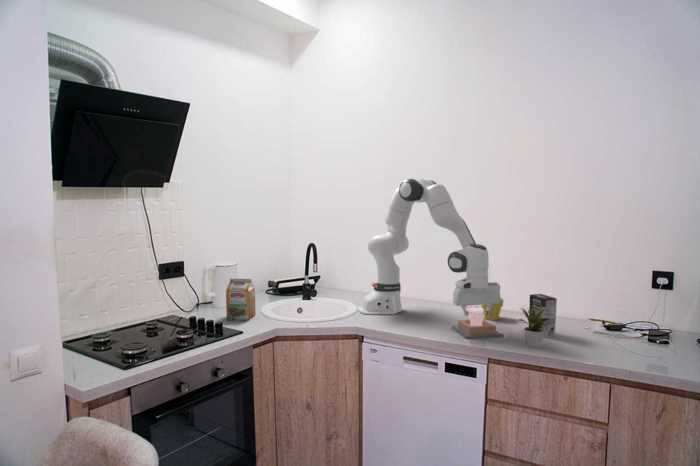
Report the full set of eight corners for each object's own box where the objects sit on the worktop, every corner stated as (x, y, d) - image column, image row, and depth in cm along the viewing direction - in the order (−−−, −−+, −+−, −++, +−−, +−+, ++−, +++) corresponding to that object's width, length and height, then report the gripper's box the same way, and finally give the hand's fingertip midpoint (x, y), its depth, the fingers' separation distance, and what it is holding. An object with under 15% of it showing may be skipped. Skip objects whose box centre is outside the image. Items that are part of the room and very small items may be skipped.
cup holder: (466, 338, 186) (466, 329, 185) (451, 327, 201) (451, 318, 201) (503, 336, 188) (503, 327, 188) (485, 326, 204) (485, 317, 204)
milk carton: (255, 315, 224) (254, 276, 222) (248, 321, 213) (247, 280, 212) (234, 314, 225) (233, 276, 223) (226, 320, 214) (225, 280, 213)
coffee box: (527, 331, 196) (528, 294, 194) (539, 330, 198) (540, 293, 197) (543, 337, 187) (545, 298, 186) (556, 336, 189) (557, 297, 188)
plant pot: (498, 322, 210) (498, 301, 210) (476, 318, 217) (476, 298, 216) (505, 317, 218) (506, 297, 218) (484, 314, 225) (485, 294, 224)
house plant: (515, 350, 172) (516, 307, 170) (507, 339, 185) (508, 299, 184) (555, 352, 170) (556, 308, 168) (544, 340, 183) (546, 300, 182)
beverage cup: (472, 327, 199) (473, 295, 198) (486, 329, 195) (486, 297, 194) (466, 330, 194) (466, 297, 193) (479, 332, 190) (480, 299, 189)
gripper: (496, 280, 198) (495, 312, 199) (451, 282, 195) (451, 314, 196) (503, 283, 192) (503, 315, 193) (457, 285, 188) (457, 318, 190)
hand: (476, 315), depth 194 cm, fingers open, 8 cm apart
